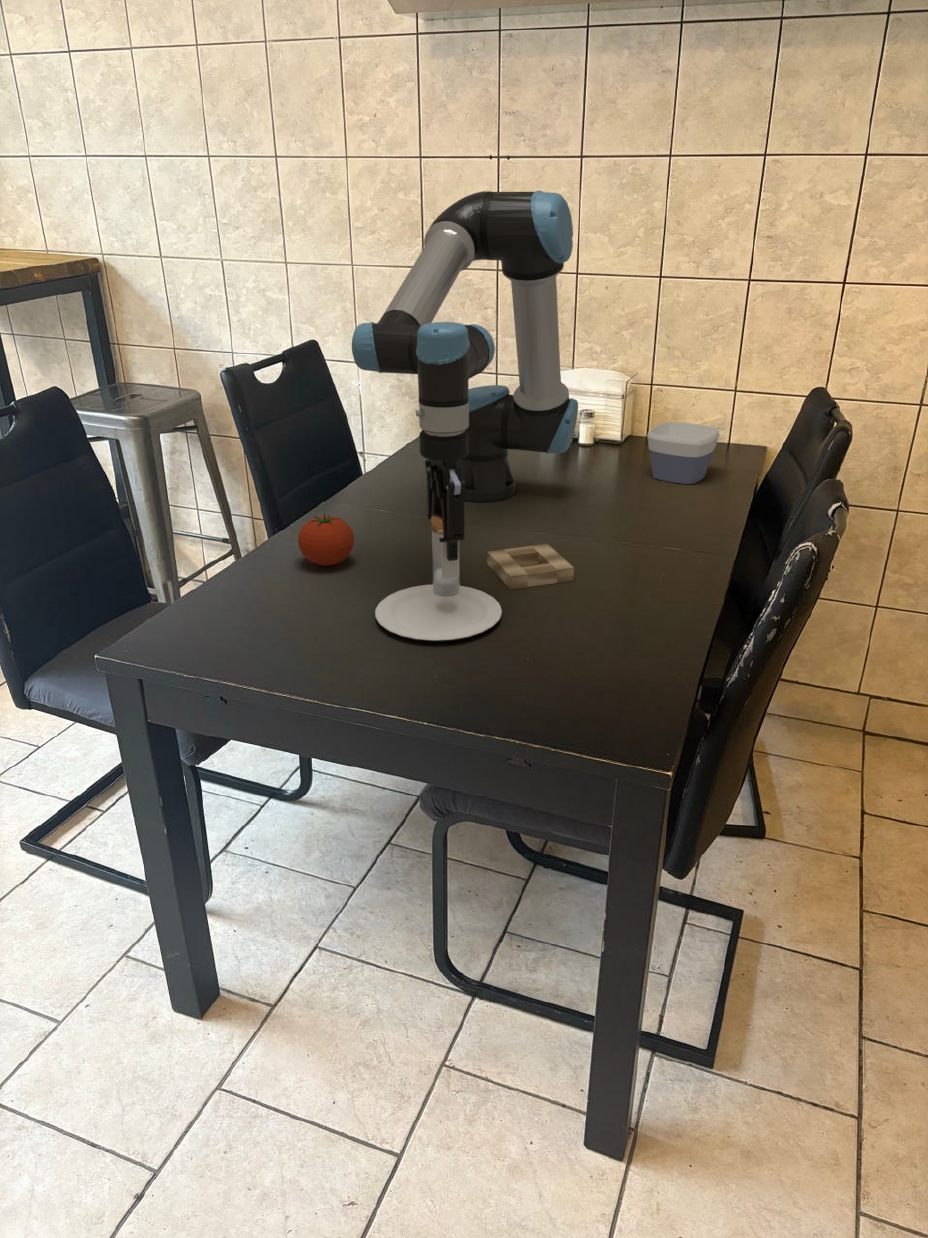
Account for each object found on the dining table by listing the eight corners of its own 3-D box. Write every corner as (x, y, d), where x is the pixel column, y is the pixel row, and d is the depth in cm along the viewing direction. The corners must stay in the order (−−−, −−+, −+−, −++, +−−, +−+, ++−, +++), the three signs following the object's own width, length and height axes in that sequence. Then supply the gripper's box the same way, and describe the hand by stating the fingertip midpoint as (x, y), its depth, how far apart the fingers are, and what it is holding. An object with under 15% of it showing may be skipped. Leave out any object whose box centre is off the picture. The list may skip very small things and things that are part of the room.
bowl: (721, 473, 218) (726, 427, 213) (699, 490, 207) (704, 442, 202) (660, 463, 226) (664, 418, 221) (635, 479, 214) (639, 433, 209)
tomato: (333, 549, 176) (329, 499, 172) (366, 563, 170) (363, 512, 165) (289, 563, 170) (284, 513, 166) (322, 579, 163) (318, 527, 159)
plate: (457, 661, 137) (457, 651, 136) (349, 627, 147) (348, 618, 146) (524, 609, 153) (524, 600, 152) (422, 582, 163) (422, 574, 162)
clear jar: (429, 587, 152) (427, 513, 146) (455, 583, 153) (454, 510, 147) (437, 598, 148) (435, 523, 142) (463, 594, 149) (463, 519, 143)
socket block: (487, 564, 169) (487, 551, 168) (546, 556, 173) (547, 543, 172) (510, 589, 159) (510, 576, 158) (573, 580, 163) (573, 567, 161)
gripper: (405, 418, 145) (409, 554, 155) (437, 447, 130) (439, 595, 140) (450, 414, 147) (451, 548, 157) (486, 442, 132) (485, 588, 143)
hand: (446, 570), depth 149 cm, fingers closed on clear jar, 4 cm apart
